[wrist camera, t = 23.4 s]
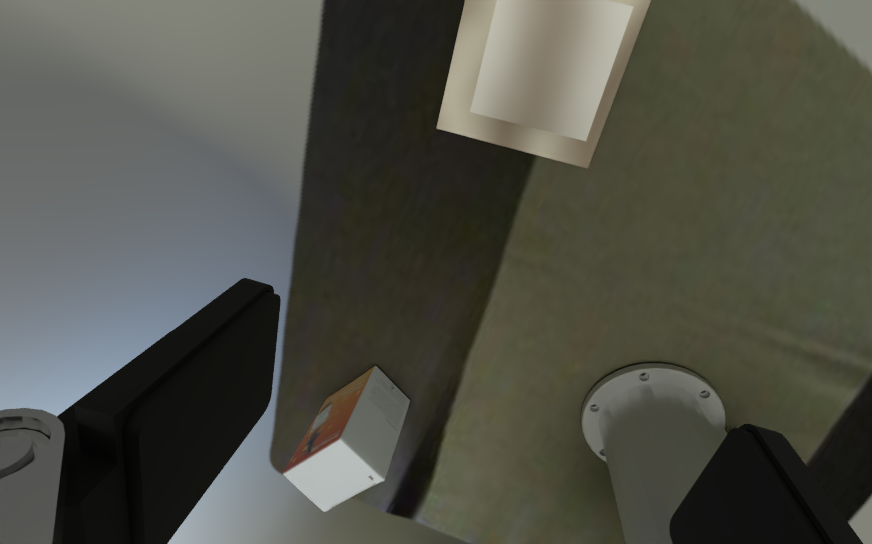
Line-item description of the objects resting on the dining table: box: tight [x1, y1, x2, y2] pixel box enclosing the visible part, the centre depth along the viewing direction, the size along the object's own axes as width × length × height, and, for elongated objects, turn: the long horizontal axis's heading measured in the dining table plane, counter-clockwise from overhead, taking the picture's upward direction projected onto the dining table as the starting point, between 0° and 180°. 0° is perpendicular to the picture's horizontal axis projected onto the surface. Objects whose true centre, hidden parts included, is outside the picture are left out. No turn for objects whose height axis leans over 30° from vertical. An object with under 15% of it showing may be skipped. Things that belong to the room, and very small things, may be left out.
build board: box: [437, 0, 651, 169], centre depth 33 cm, size 12×12×1 cm
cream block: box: [470, 0, 633, 141], centre depth 25 cm, size 6×6×6 cm
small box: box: [283, 366, 410, 512], centre depth 44 cm, size 8×6×10 cm
